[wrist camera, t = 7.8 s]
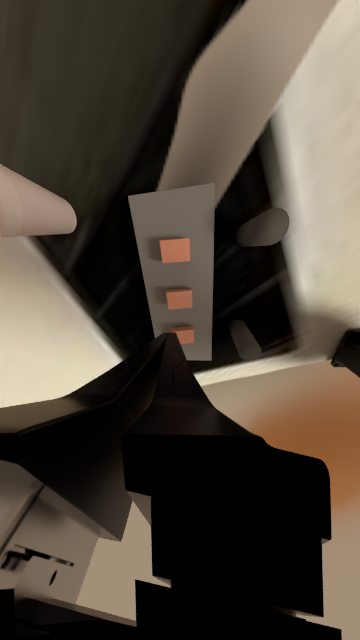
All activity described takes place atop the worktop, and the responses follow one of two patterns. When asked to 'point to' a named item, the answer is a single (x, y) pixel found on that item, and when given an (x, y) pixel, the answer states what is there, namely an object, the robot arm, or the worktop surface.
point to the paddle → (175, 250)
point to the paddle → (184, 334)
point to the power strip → (177, 223)
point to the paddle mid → (179, 298)
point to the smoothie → (31, 208)
